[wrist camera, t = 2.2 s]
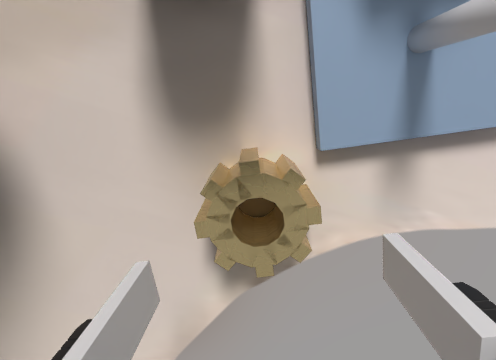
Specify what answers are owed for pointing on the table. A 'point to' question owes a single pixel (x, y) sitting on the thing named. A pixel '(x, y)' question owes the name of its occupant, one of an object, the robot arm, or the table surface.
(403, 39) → the gear board
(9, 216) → the table surface
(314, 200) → the brass gear
